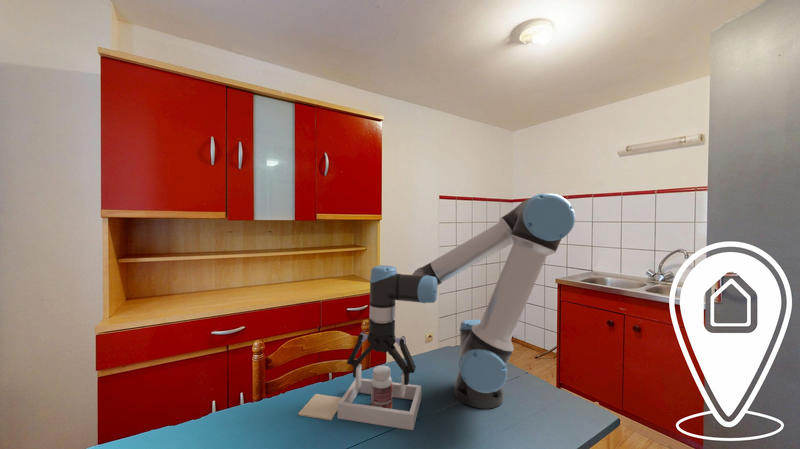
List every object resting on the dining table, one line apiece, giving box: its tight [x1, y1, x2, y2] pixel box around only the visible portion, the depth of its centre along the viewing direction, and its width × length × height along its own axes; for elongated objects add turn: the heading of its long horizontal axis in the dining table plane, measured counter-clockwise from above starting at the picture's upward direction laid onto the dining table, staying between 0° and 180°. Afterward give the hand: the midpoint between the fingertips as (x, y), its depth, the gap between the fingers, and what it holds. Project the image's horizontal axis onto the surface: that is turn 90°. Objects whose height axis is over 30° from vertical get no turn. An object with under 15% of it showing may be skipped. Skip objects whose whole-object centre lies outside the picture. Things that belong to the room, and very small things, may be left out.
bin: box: [337, 377, 422, 431], centre depth 87 cm, size 21×14×4 cm
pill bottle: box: [370, 365, 393, 409], centre depth 87 cm, size 6×6×11 cm
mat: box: [297, 393, 342, 421], centre depth 87 cm, size 10×10×1 cm
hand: (380, 391), depth 87 cm, fingers open, 13 cm apart
